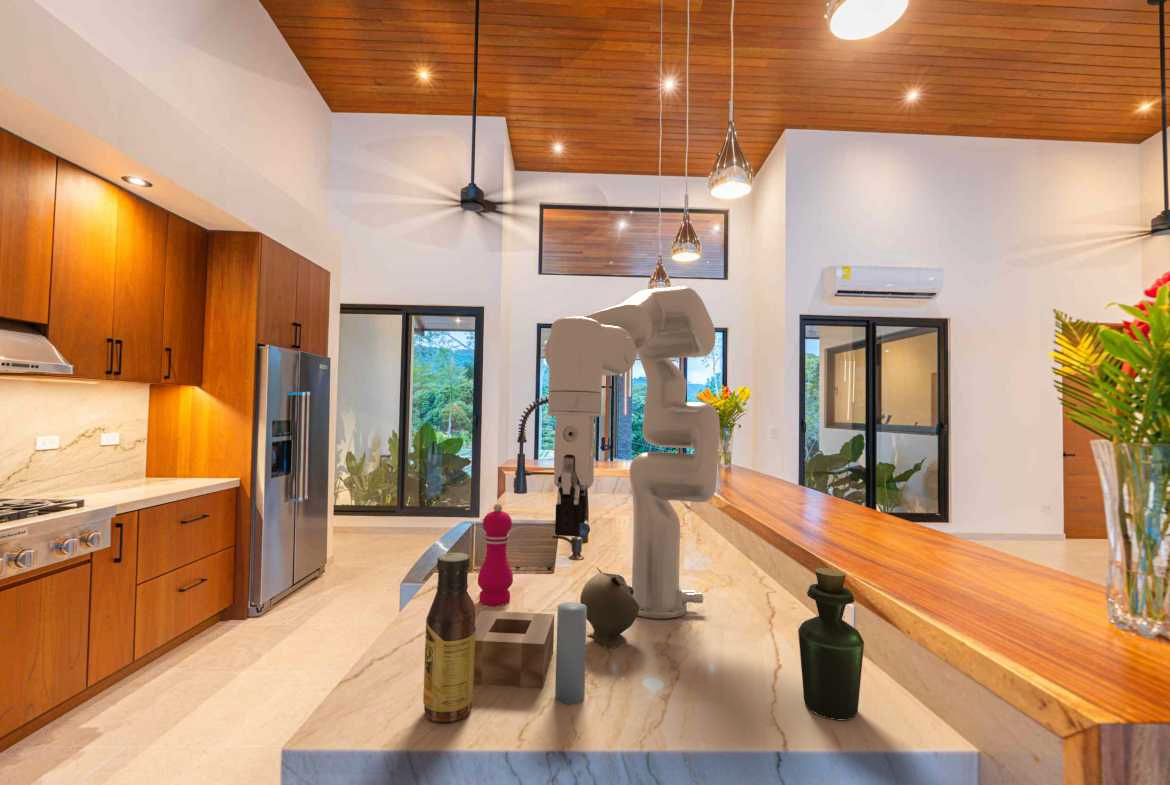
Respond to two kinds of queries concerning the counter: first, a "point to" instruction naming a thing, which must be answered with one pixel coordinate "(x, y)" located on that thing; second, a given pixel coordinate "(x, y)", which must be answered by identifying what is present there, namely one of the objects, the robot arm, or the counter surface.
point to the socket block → (513, 648)
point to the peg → (570, 653)
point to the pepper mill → (496, 559)
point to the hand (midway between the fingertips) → (571, 528)
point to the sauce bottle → (450, 643)
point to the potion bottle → (831, 650)
